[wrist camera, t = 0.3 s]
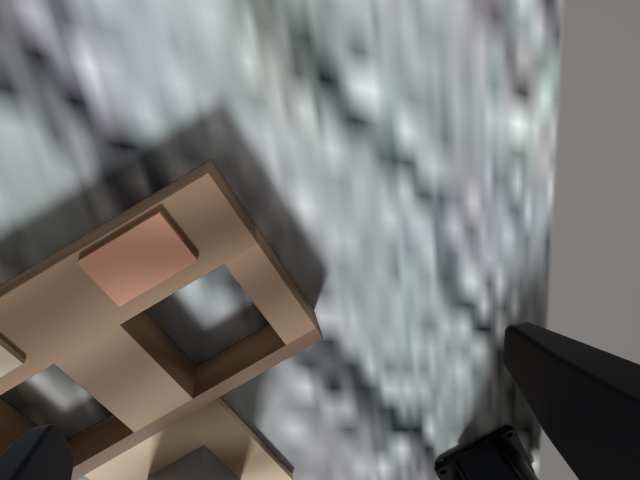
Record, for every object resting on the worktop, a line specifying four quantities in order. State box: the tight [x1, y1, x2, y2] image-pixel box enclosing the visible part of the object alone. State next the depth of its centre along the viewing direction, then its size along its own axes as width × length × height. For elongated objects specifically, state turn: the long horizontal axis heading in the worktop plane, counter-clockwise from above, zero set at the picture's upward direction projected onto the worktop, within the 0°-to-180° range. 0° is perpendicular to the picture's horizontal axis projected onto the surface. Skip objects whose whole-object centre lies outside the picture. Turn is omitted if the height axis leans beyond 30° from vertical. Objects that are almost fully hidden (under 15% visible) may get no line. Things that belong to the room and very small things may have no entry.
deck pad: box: [84, 397, 293, 480], centre depth 26 cm, size 9×9×1 cm
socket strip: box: [0, 160, 323, 480], centre depth 21 cm, size 10×18×3 cm, turn 118°
